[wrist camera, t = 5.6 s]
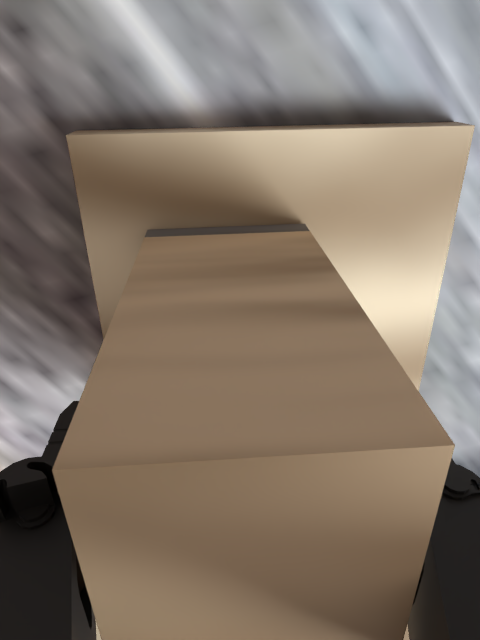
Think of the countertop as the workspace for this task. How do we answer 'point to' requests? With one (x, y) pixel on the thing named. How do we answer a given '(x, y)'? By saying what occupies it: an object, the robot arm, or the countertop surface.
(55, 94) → the countertop surface
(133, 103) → the countertop surface
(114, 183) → the board
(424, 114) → the countertop surface
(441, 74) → the countertop surface
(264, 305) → the block
